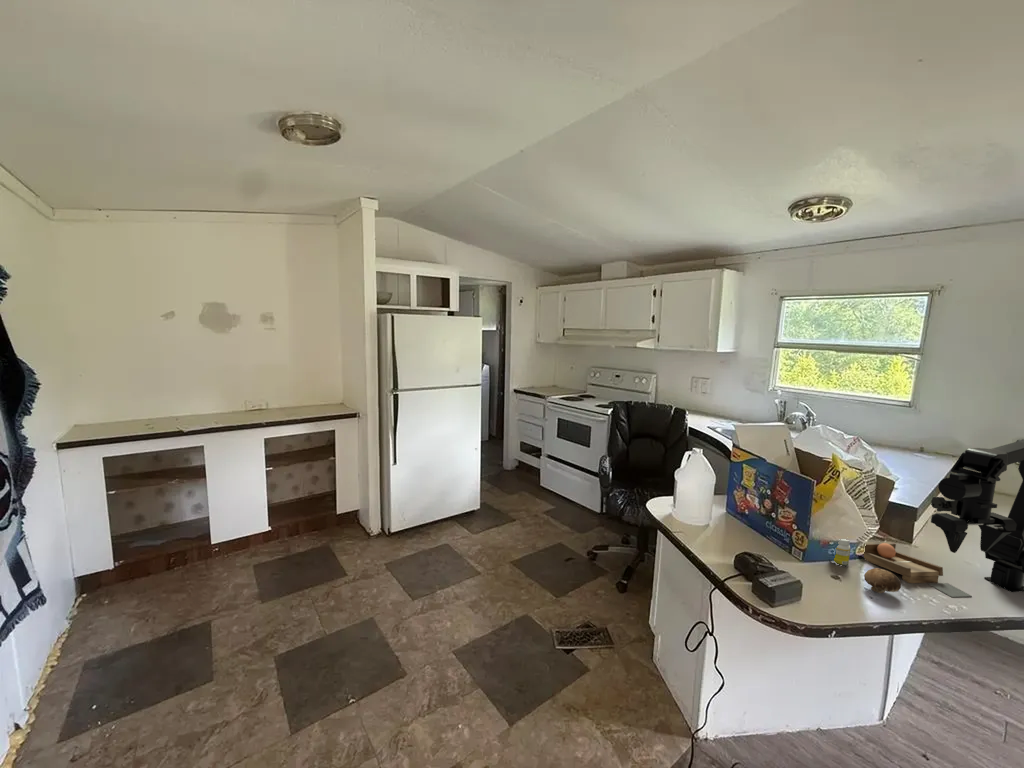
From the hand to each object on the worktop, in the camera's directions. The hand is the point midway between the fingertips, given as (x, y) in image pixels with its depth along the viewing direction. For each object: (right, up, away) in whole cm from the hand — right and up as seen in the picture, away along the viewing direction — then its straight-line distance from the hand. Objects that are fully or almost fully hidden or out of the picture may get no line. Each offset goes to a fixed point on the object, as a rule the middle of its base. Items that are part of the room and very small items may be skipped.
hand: (968, 551), depth 116 cm
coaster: (-3, -12, +2) cm, 12 cm away
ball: (-8, -6, +19) cm, 21 cm away
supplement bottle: (-24, -10, +15) cm, 30 cm away
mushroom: (-23, -12, 0) cm, 26 cm away
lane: (-7, -10, +12) cm, 18 cm away
